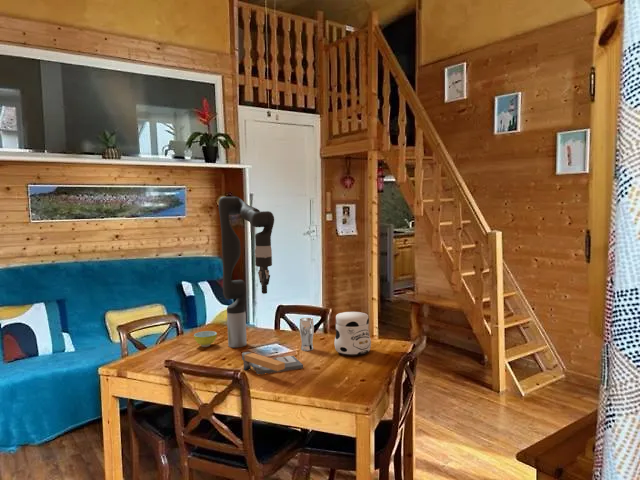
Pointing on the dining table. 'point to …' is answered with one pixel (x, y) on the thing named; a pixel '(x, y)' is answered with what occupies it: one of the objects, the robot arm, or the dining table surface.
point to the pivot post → (247, 365)
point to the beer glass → (307, 333)
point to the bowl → (205, 338)
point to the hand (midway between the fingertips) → (264, 293)
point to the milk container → (352, 333)
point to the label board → (289, 361)
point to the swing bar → (263, 361)
